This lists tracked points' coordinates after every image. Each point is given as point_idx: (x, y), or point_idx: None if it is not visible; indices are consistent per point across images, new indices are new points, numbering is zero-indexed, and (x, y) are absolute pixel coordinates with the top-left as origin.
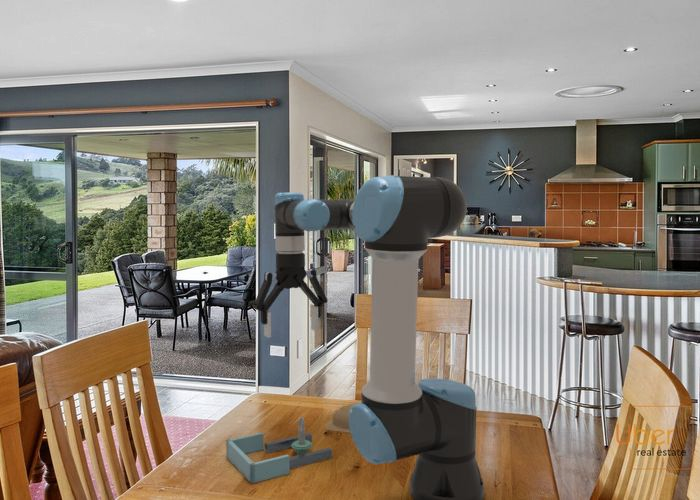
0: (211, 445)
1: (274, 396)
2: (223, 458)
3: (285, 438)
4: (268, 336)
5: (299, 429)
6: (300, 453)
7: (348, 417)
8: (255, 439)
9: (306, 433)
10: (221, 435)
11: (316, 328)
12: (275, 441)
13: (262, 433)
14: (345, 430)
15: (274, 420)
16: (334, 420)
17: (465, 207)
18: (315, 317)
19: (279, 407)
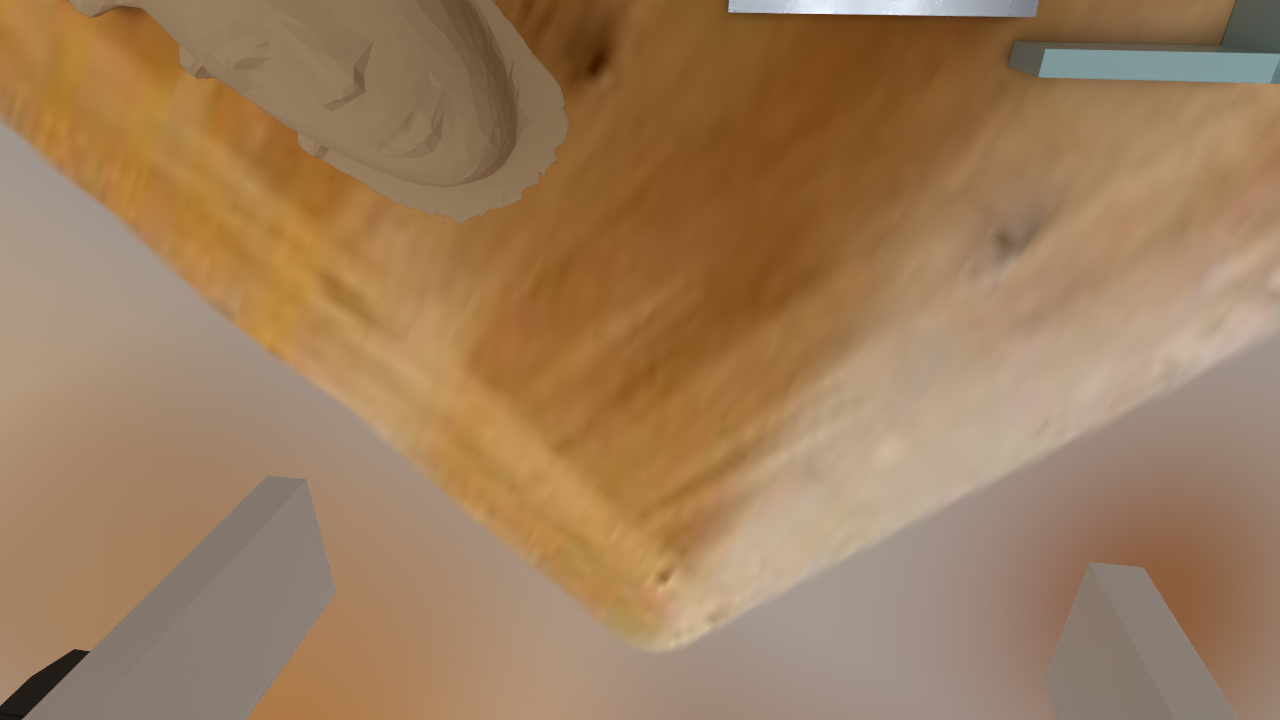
0: (1192, 263)
1: (603, 598)
2: None
3: (893, 12)
4: (1151, 581)
5: None
6: None
7: (441, 29)
8: (1092, 48)
9: (747, 10)
10: (1067, 349)
11: (272, 505)
12: (970, 1)
13: (1048, 53)
14: (491, 18)
15: (744, 366)
16: (507, 119)
17: None
18: (154, 656)
19: (644, 485)
